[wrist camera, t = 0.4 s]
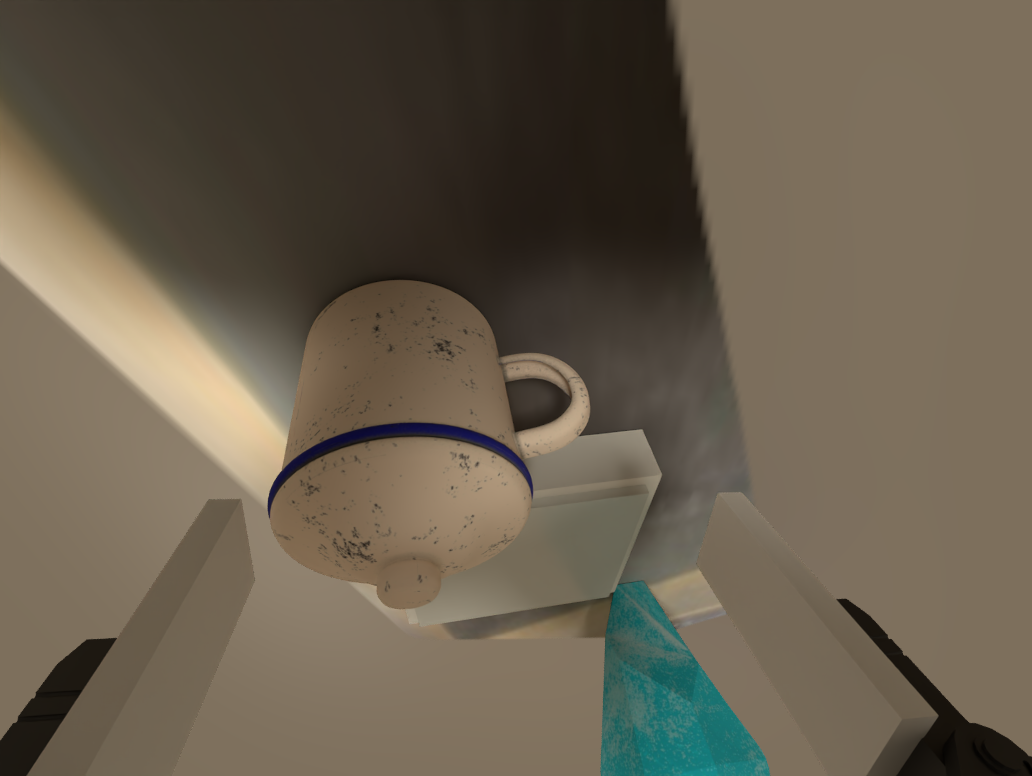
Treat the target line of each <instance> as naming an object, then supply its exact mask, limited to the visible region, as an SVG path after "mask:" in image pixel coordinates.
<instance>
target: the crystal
mask: <svg viewBox="0 0 1032 776" xmlns="http://www.w3.org/2000/svg"><path fill="white" fill-rule="evenodd" d="M600 772H601V776H770V773H769V767H768V764H767V761H766V758H765V756H764V755H763V752H762V750H761V749H760V747H759V746H758V745H757V743H756V742H755V741H754V739H753V738H752V737H751V735H750V734H749V733H748V731H747V730H746V729H745V727H744V726H743V725H742V723H741V722H740V721H739V719H738V718H737V717H736V715H735V714H734V713H733V711H732V710H731V708H730V707H729V706H728V704H727V703H726V702H725V700H724V699H723V698H722V696H721V695H720V693H719V692H718V690H717V689H716V688H715V686H714V685H713V683H712V682H711V680H710V679H709V678H708V676H707V675H706V673H705V672H704V671H703V669H702V668H701V666H700V665H699V664H698V662H697V661H696V659H695V658H694V656H693V655H692V653H691V652H690V650H689V649H688V647H687V646H686V644H685V643H684V641H683V640H682V638H681V637H680V635H679V634H678V632H677V631H676V629H675V628H674V626H673V625H672V623H671V622H670V620H669V619H668V617H667V616H666V614H665V613H664V611H663V610H662V608H661V607H660V605H659V604H658V602H657V601H656V599H655V598H654V596H653V595H652V593H651V592H650V590H649V589H648V587H647V585H646V584H645V583H644V581H638V582H632V583H625V584H619V585H617V587H616V590H615V592H613V598H612V603H611V608H610V614H609V619H608V624H607V629H606V635H605V664H604V691H603V721H602V747H601V771H600Z"/></svg>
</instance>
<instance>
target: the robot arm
mask: <svg viewBox="0 0 1032 776" xmlns="http://www.w3.org/2000/svg"><path fill="white" fill-rule="evenodd" d="M696 564H697V566H698V568H699V569H700V571H701V572H702V574H703V576H704V577H705V579H706V580H707V582H708V584H709V585H710V587H711V588H712V590H713V592H714V593H715V595H716V597H717V598H718V600H719V601H720V603H721V605H722V606H723V608H724V609H725V611H726V613H727V614H728V616H729V617H730V619H731V621H732V622H733V624H734V626H735V627H736V629H737V630H738V632H739V634H740V635H741V637H742V638H743V640H744V642H745V643H746V645H747V647H748V648H749V650H750V651H751V653H752V655H753V656H754V658H755V659H756V661H757V663H758V664H759V666H760V667H761V669H762V670H763V672H764V674H765V675H766V677H767V679H768V680H769V682H770V683H771V685H772V687H773V688H774V690H775V692H776V693H777V695H778V696H779V698H780V700H781V701H782V703H783V704H784V706H785V708H786V709H787V711H788V713H789V714H790V716H791V717H792V719H793V721H794V722H795V724H796V725H797V727H798V729H799V730H800V732H801V734H802V735H803V737H804V738H805V740H806V742H807V743H808V745H809V746H810V748H811V750H812V751H813V753H814V754H815V756H816V758H817V759H818V761H819V763H820V764H821V766H822V767H823V769H824V771H825V772H826V774H827V775H828V776H1032V757H1031V756H1028V755H1027V754H1026V753H1025V752H1024V751H1023V750H1022V749H1021V748H1019V747H1018V746H1017V745H1016V744H1014V743H1013V742H1012V741H1011V740H1010V739H1008V738H1006V737H1005V736H1003V735H1001V734H999V733H998V732H996V731H994V730H993V729H990V728H988V727H985V726H982V725H979V724H976V723H969V722H968V721H967V720H966V719H965V718H964V717H963V716H962V715H961V714H960V713H959V712H958V711H957V710H956V709H955V708H954V706H952V704H951V703H950V702H949V701H948V700H947V699H946V698H945V697H944V696H943V695H942V694H941V692H940V691H939V690H938V689H937V688H936V687H935V686H934V685H933V684H932V683H931V682H930V680H929V679H928V678H927V677H926V676H925V675H924V674H923V673H922V672H921V671H920V670H919V669H918V667H917V666H916V665H915V664H914V663H913V662H912V661H911V660H910V659H909V658H908V657H907V656H904V655H903V653H902V652H903V651H902V650H901V649H900V648H899V647H898V646H897V645H896V644H895V643H894V642H893V640H892V639H888V635H887V634H886V633H885V632H884V631H883V630H882V629H881V627H880V626H879V625H878V624H877V623H876V622H875V621H874V620H873V619H872V618H871V617H870V616H869V615H868V614H867V613H865V612H864V611H863V610H861V609H860V608H858V607H857V606H856V605H854V604H853V603H851V602H850V601H849V600H847V599H835V598H834V596H833V595H832V594H831V593H830V592H829V591H828V590H827V588H826V587H825V586H824V585H823V584H822V583H821V582H820V581H819V579H818V578H817V577H816V576H815V575H814V574H813V573H812V571H811V570H810V569H809V568H808V567H807V566H806V565H805V564H804V563H803V561H802V560H801V559H800V558H799V557H798V556H797V554H796V553H795V552H794V551H793V550H792V549H791V548H790V547H789V545H788V544H787V543H786V542H785V541H784V540H783V539H782V538H781V536H780V535H779V534H778V533H777V532H776V531H775V530H774V529H773V527H772V526H771V525H770V524H769V523H768V522H767V520H766V519H765V518H764V517H763V516H762V515H761V514H760V513H759V511H758V510H757V509H756V508H755V507H754V506H753V505H752V503H751V502H750V501H749V500H748V499H747V498H746V497H745V496H744V494H743V493H742V492H732V493H718V494H717V497H716V501H715V504H714V507H713V511H712V514H711V517H710V520H709V524H708V527H707V530H706V533H705V537H704V540H703V543H702V546H701V550H700V553H699V556H698V559H697V563H696ZM254 581H255V577H254V571H253V565H252V560H251V554H250V548H249V542H248V536H247V531H246V524H245V519H244V513H243V507H242V501H241V499H209V500H208V501H207V503H206V504H205V506H204V507H203V509H202V510H201V512H200V513H199V515H198V516H197V518H196V519H195V521H194V522H193V524H192V525H191V527H190V528H189V530H188V532H187V533H186V535H185V536H184V538H183V539H182V541H181V542H180V544H179V545H178V547H177V548H176V550H175V551H174V553H173V554H172V556H171V557H170V559H169V560H168V562H167V563H166V565H165V566H164V568H163V570H162V571H161V573H160V574H159V576H158V577H157V578H156V580H155V582H154V583H153V585H152V586H151V588H150V589H149V591H148V592H147V594H146V595H145V597H144V598H143V600H142V601H141V603H140V604H139V606H138V607H137V609H136V611H135V612H134V613H133V615H132V616H131V618H130V620H129V621H128V623H127V624H126V626H125V627H124V629H123V630H122V632H121V633H120V635H119V636H118V638H108V639H89V640H86V641H85V642H83V643H82V644H81V645H80V646H78V647H77V648H76V649H75V650H74V651H72V652H71V653H70V654H69V655H68V656H66V657H65V658H64V659H63V660H62V661H60V662H59V663H58V664H57V665H56V666H55V668H54V669H53V670H52V672H51V673H50V674H49V676H48V677H47V679H46V680H45V681H44V683H43V684H42V685H41V687H40V688H39V690H38V691H37V692H36V696H35V698H34V699H31V700H30V701H29V703H28V704H27V706H26V707H25V708H24V709H23V711H22V712H21V714H20V715H19V716H18V721H17V722H16V723H13V724H12V726H11V727H10V728H9V730H8V731H7V733H6V734H5V735H4V736H3V738H2V739H1V740H0V776H172V774H173V771H174V769H175V766H176V764H177V762H178V759H179V757H180V754H181V752H182V750H183V748H184V745H185V743H186V741H187V738H188V736H189V734H190V731H191V729H192V727H193V724H194V722H195V720H196V717H197V715H198V712H199V710H200V708H201V706H202V703H203V701H204V699H205V696H206V694H207V692H208V689H209V687H210V684H211V682H212V680H213V678H214V675H215V673H216V670H217V668H218V666H219V663H220V661H221V659H222V656H223V654H224V652H225V649H226V647H227V644H228V642H229V639H230V638H231V635H232V633H233V631H234V628H235V626H236V624H237V621H238V619H239V617H240V614H241V612H242V609H243V607H244V605H245V603H246V600H247V598H248V595H249V593H250V591H251V588H252V586H253V584H254Z"/></svg>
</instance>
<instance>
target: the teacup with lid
mask: <svg viewBox="0 0 1032 776" xmlns="http://www.w3.org/2000/svg"><path fill="white" fill-rule="evenodd" d="M527 378H537V379H543V380H546V381H549V382H551V383H553V384H555V385H557V386H558V387H559V388H561V389H562V390H563V391H564V392H565V393H566V394H567V395H568V397H569V398H570V400H571V404H570V406H569V407H568V409H567V410H566V411H565V412H564V413H563V415H561V416H560V417H559V418H558V419H556V420H554V421H552V422H550V423H548V424H545V425H542V426H539V427H535V428H531V429H527V430H522V431H518V432H515V430H514V425H513V420H512V416H511V411H510V406H509V401H508V397H507V392H506V387H505V383H506V382H509V381H514V380H519V379H527ZM589 416H590V401H589V396H588V392H587V389H586V386H585V384H584V382H583V381H582V379H581V378H580V376H579V375H578V374H577V373H576V372H575V371H574V370H573V369H572V368H571V367H570V366H569V365H567V364H566V363H564V362H563V361H561V360H559V359H557V358H555V357H552V356H549V355H546V354H541V353H520V354H513V355H508V356H504V357H499V355H498V350H497V346H496V341H495V337H494V334H493V332H492V329H491V327H490V325H489V324H488V322H487V320H486V319H485V318H484V316H483V315H482V314H481V313H480V311H479V310H478V309H477V308H475V307H474V306H473V305H472V304H471V303H470V302H468V301H467V300H466V299H464V298H463V297H461V296H460V295H458V294H456V293H454V292H452V291H450V290H448V289H445V288H443V287H440V286H437V285H434V284H430V283H425V282H420V281H412V280H388V281H380V282H375V283H371V284H367V285H364V286H360V287H358V288H355V289H353V290H351V291H349V292H347V293H345V294H343V295H341V296H340V297H338V298H337V299H335V300H334V301H333V302H331V303H330V304H329V305H328V306H327V307H326V308H325V309H324V310H323V311H322V312H321V313H320V314H319V316H318V317H317V318H316V320H315V321H314V323H313V325H312V327H311V329H310V332H309V334H308V337H307V341H306V346H305V352H304V357H303V362H302V367H301V373H300V378H299V383H298V388H297V394H296V399H295V404H294V409H293V415H292V420H291V425H290V430H289V436H288V441H287V446H286V451H285V457H284V462H283V467H282V471H281V472H280V474H279V475H278V476H277V478H276V480H275V481H274V483H273V485H272V487H271V490H270V493H269V497H268V515H269V518H270V522H271V528H272V530H273V533H274V535H275V537H276V539H277V540H278V542H279V544H280V546H281V547H282V548H283V549H284V550H285V552H286V553H288V554H289V555H290V556H291V557H292V558H293V559H294V560H296V561H297V562H298V563H300V564H302V565H303V566H305V567H307V568H309V569H311V570H314V571H315V572H318V573H321V574H323V575H326V576H330V577H333V578H337V579H341V580H346V581H351V582H359V583H368V584H372V585H376V586H377V595H378V597H379V599H380V600H381V602H382V603H383V604H385V605H386V606H388V607H391V608H395V609H412V608H418V607H421V606H424V605H426V604H428V603H430V602H432V601H433V600H434V599H435V598H436V597H437V595H438V593H439V592H440V589H441V579H443V578H445V577H447V576H449V575H453V574H456V573H459V572H462V571H465V570H467V569H470V568H472V567H475V566H477V565H479V564H481V563H483V562H485V561H487V560H489V559H490V558H492V557H494V556H495V555H497V554H498V553H500V552H501V551H502V550H504V549H505V548H506V547H507V546H509V545H510V544H511V543H512V542H513V541H514V540H515V538H516V537H517V536H518V535H519V534H520V532H521V531H522V529H523V528H524V526H525V524H526V521H527V519H528V517H529V514H530V510H531V504H532V499H533V483H532V478H531V475H530V473H529V471H528V469H527V467H526V465H525V464H524V462H523V461H522V459H526V458H531V457H535V456H539V455H543V454H547V453H550V452H553V451H556V450H558V449H561V448H563V447H565V446H566V445H568V444H569V443H571V442H572V441H573V440H575V439H576V438H577V437H578V436H579V435H580V433H581V432H582V431H583V429H584V428H585V427H586V425H587V422H588V420H589Z"/></svg>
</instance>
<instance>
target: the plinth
mask: <svg viewBox="0 0 1032 776" xmlns="http://www.w3.org/2000/svg"><path fill="white" fill-rule="evenodd" d="M522 461H523V462H524V464H525V465H526V467H527V469H528V471H529V473H530V475H531V478H532V483H533V499H532V504H531V510H530V514H529V517H528V519H527V521H526V524H525V526H524V528H523V529H522V531H521V532H520V534H519V535H518V536H517V537H516V538H515V540H514V541H513V542H512V543H511V544H510V545H509V546H507V547H506V548H505V549H504V550H502V551H501V552H500V553H498V554H497V555H495V556H494V557H492V558H490V559H489V560H487V561H485V562H483V563H481V564H479V565H477V566H475V567H472V568H470V569H467V570H465V571H462V572H459V573H456V574H453V575H449V576H447V577H445V578H443V579H441V589H440V592H439V593H438V595H437V597H436V598H435V599H434V600H433V601H432V602H430V603H428V604H426V605H424V606H421V607H418V608H412V609H405V611H406V614H407V617H408V620H409V623H410V624H414V623H419V626H420V627H421V626H428V625H434V624H440V623H447V622H453V621H459V620H466V619H472V618H478V617H485V616H491V615H497V614H504V613H510V612H516V611H523V610H529V609H535V608H542V607H548V606H554V605H561V604H567V603H573V602H580V601H586V600H593V599H599V598H605V597H609V595H610V593H612V592H615V590H616V587H617V585H618V582H619V580H620V577H621V575H622V572H623V570H624V567H625V565H626V562H627V560H628V558H629V555H630V553H631V550H632V548H633V545H634V543H635V540H636V538H637V535H638V533H639V530H640V528H641V526H642V523H643V521H644V518H645V516H646V513H647V511H648V508H649V506H650V503H651V501H652V498H653V496H654V494H655V491H656V489H657V486H658V484H659V481H660V479H661V476H662V473H661V471H660V469H659V467H658V464H657V462H656V460H655V458H654V455H653V453H652V451H651V448H650V446H649V444H648V442H647V439H646V437H645V435H644V433H643V430H642V429H640V430H631V431H622V432H613V433H604V434H595V435H586V436H578V437H577V438H576V439H575V440H573V441H572V442H571V443H569V444H568V445H566V446H565V447H563V448H561V449H558V450H556V451H553V452H550V453H547V454H543V455H539V456H535V457H531V458H526V459H522Z"/></svg>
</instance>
